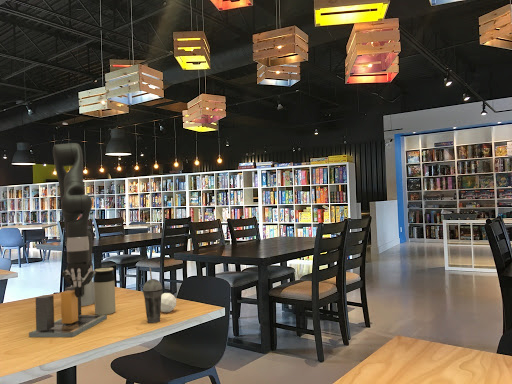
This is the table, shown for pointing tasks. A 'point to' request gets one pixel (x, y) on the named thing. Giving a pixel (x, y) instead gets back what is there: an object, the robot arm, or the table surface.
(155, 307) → the beverage cup
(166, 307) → the geometric ball
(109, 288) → the travel mug
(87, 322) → the panel
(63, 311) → the handle
